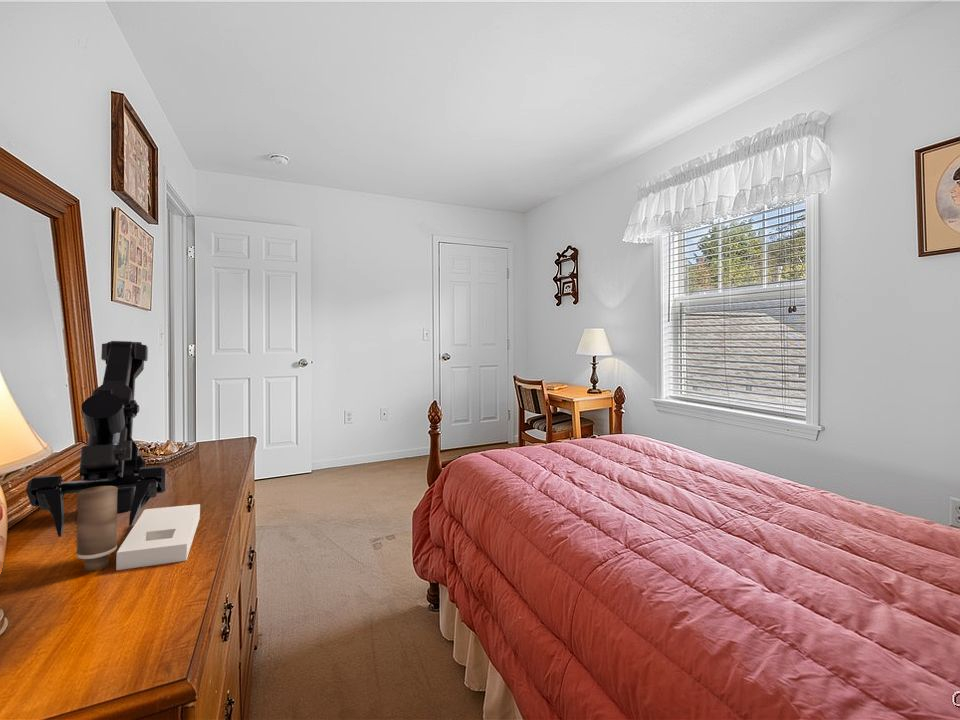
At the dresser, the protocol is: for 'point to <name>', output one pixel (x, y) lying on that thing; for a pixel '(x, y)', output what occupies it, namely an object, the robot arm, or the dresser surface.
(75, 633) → the dresser surface
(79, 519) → the peg
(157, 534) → the board
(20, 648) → the dresser surface
